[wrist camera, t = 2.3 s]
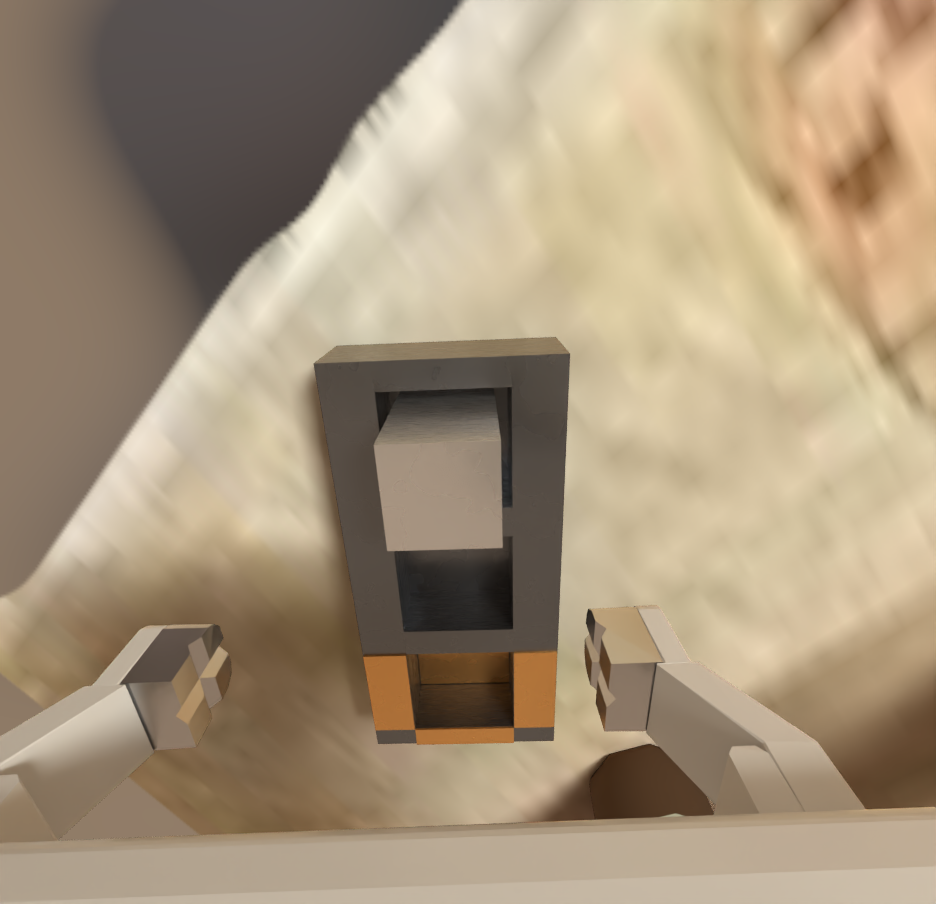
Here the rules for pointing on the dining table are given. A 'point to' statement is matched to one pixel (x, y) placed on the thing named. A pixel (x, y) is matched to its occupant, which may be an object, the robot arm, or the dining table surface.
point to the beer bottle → (644, 787)
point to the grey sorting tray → (456, 570)
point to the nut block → (441, 471)
